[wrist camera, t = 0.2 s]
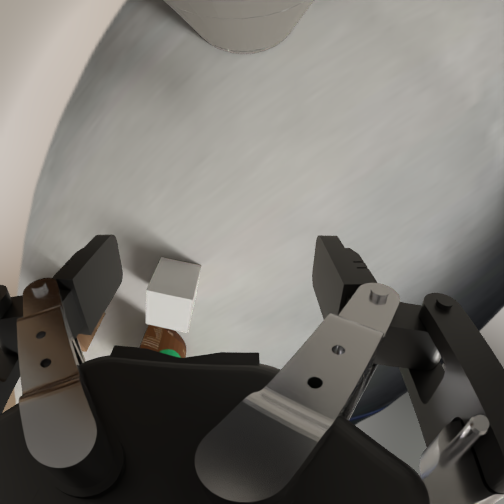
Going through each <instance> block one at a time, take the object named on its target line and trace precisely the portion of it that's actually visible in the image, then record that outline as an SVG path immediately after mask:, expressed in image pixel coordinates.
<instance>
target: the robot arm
mask: <svg viewBox="0 0 504 504" xmlns="http://www.w3.org/2000/svg"><path fill="white" fill-rule="evenodd" d="M164 1H165V2H166V3H167V4H168V5H169V6H170V7H171V8H172V9H173V10H174V11H176V12H177V13H178V14H179V15H180V16H181V17H182V18H183V19H184V20H185V21H186V22H187V23H188V24H189V25H190V26H191V27H192V28H193V29H194V30H195V31H196V32H197V33H198V34H199V35H200V36H201V37H202V38H204V39H205V40H206V41H207V42H208V43H210V44H211V45H213V46H215V47H216V48H218V49H220V50H224V51H227V52H230V53H238V54H251V53H257V52H261V51H265V50H267V49H270V48H272V47H274V46H276V45H277V44H279V43H280V42H282V41H283V40H284V39H285V38H286V37H287V36H288V35H289V34H290V33H291V31H292V30H293V28H294V27H295V26H296V24H297V23H298V22H299V20H300V19H301V18H302V16H303V15H304V13H305V12H306V11H307V9H308V8H309V7H310V5H311V4H312V3H313V1H314V0H164ZM122 276H123V272H122V266H121V260H120V255H119V250H118V244H117V240H116V237H115V236H114V235H96V236H95V237H94V238H93V239H92V240H91V241H90V242H89V243H88V244H87V245H86V246H85V247H84V248H82V249H81V250H79V251H77V252H76V253H75V254H74V255H73V256H72V257H71V258H70V260H68V261H67V262H66V264H65V265H64V266H63V267H62V268H61V269H60V270H59V271H58V272H57V273H56V274H55V275H54V277H53V278H42V279H39V280H36V281H34V282H32V283H30V284H29V285H28V286H27V287H26V288H25V289H24V291H23V295H22V296H16V297H10V295H9V293H8V290H7V288H6V286H4V285H0V504H494V503H496V502H497V501H499V500H500V499H502V498H503V497H504V369H503V367H502V365H501V364H500V363H499V361H498V359H497V358H496V356H495V355H494V353H493V351H492V350H491V348H490V347H489V345H488V344H487V342H486V341H485V339H484V338H483V336H482V335H481V333H480V332H479V331H478V329H477V328H476V326H475V325H474V323H473V322H472V321H471V319H470V318H469V316H468V315H467V314H466V312H465V311H464V310H463V308H462V307H461V306H460V304H459V303H458V302H457V301H456V300H454V299H453V298H451V297H449V296H447V295H444V294H440V293H431V294H428V295H426V296H425V298H424V301H423V303H422V306H420V305H414V304H408V303H403V302H400V296H399V294H398V293H397V292H396V291H395V290H394V289H392V288H391V287H389V286H386V285H384V284H380V283H377V281H376V280H375V278H374V277H373V275H372V274H371V272H370V271H369V269H367V266H366V264H365V263H363V260H362V258H361V257H360V255H359V254H358V253H356V252H355V251H353V250H352V249H350V248H344V246H343V244H342V243H341V241H340V240H339V238H338V237H337V236H318V237H317V240H316V248H315V256H314V265H313V274H312V281H313V287H314V291H315V294H316V297H317V300H318V303H319V306H320V309H321V312H322V315H323V318H324V320H323V322H322V323H321V324H320V325H319V327H318V328H317V329H316V330H315V331H314V333H313V334H312V335H311V336H310V337H309V338H308V340H307V341H306V342H305V343H304V344H303V345H302V347H301V348H300V349H299V350H298V351H297V352H296V353H295V355H294V356H293V357H292V358H291V359H290V360H289V361H288V362H287V364H286V365H285V366H284V367H283V368H282V369H281V370H280V369H277V368H275V367H271V366H268V365H264V364H259V353H226V352H221V353H214V354H208V355H201V356H194V357H187V358H179V357H175V356H171V355H168V354H164V353H161V352H157V351H154V350H150V349H147V348H135V347H125V346H114V348H113V350H112V352H111V355H110V356H103V357H98V358H95V359H92V360H89V361H85V358H84V355H83V352H82V350H81V347H80V344H79V341H78V339H77V336H78V334H84V335H92V333H93V331H94V329H95V327H96V326H97V324H98V322H99V320H100V319H101V317H102V315H103V313H104V312H105V310H106V308H107V306H108V305H109V303H110V301H111V300H112V298H113V296H114V294H115V293H116V291H117V289H118V288H119V286H120V284H121V282H122ZM441 357H442V359H443V361H444V364H445V371H444V369H443V367H442V365H441V363H440V359H441ZM377 364H380V365H386V366H393V367H399V369H400V371H401V374H402V377H403V379H404V382H405V385H406V387H407V390H408V393H409V396H410V398H411V401H412V404H413V407H414V410H415V413H416V415H417V418H418V421H419V424H420V427H421V430H422V433H423V437H424V440H425V443H426V446H427V448H426V449H425V450H424V451H423V453H422V455H421V458H420V476H419V475H418V473H417V472H416V471H415V470H414V469H412V468H411V467H410V466H409V465H408V464H406V463H405V462H403V461H402V460H401V459H399V458H398V457H396V456H395V455H394V454H392V453H391V452H389V451H388V450H387V449H385V448H384V447H383V446H381V445H380V444H379V443H377V442H376V441H375V440H373V439H372V438H371V437H369V436H368V435H367V434H365V433H364V432H363V431H361V430H360V429H359V428H358V427H356V426H355V425H354V424H352V423H351V422H350V421H349V419H350V417H351V415H352V413H353V411H354V409H355V407H356V405H357V403H358V401H359V399H360V398H361V396H362V394H363V392H364V390H365V388H366V386H367V384H368V383H369V381H370V379H371V377H372V375H373V373H374V371H375V369H376V367H377ZM19 377H21V385H22V396H21V397H20V398H19V403H18V404H16V405H15V406H13V407H11V408H10V409H8V410H7V411H5V412H4V413H2V412H3V410H4V407H5V405H6V403H7V401H8V399H9V397H10V395H11V393H12V391H13V389H14V387H15V385H16V383H17V381H18V379H19Z"/></svg>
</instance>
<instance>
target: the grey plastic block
mask: <svg viewBox="0 0 504 504" xmlns="http://www.w3.org/2000/svg"><path fill="white" fill-rule="evenodd" d="M200 270H201V265H197V264H192V263H187V262H182V261H178V260H173V259H168V258H163V257H161V259H160V261H159V263H158V265H157V268H156V270H155V272H154V274H153V276H152V278H151V281H150V283H149V285H148V287H147V290H146V324H149V325H153V326H158V327H162V328H167V329H171V330H176V331H181V332H186V333H188V331H189V326H190V322H191V317H192V313H193V308H194V304H195V299H196V294H197V288H198V282H199V276H200Z"/></svg>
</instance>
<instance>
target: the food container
mask: <svg viewBox="0 0 504 504" xmlns="http://www.w3.org/2000/svg"><path fill="white" fill-rule="evenodd" d="M140 348H147V349H150V350H154V351H157V352H161V353H164V354H168V355H171V356H175V357H179V358H186V345H185V342H184V340H183V339H182V337H181V336H180V335H179V334H178V333H177V332H176V331H174V330H171V329H167V328H162V327H158V326H153V325H148V328H147V330H146V333H145V335H144V338H143V340H142V343H141V345H140Z"/></svg>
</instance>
